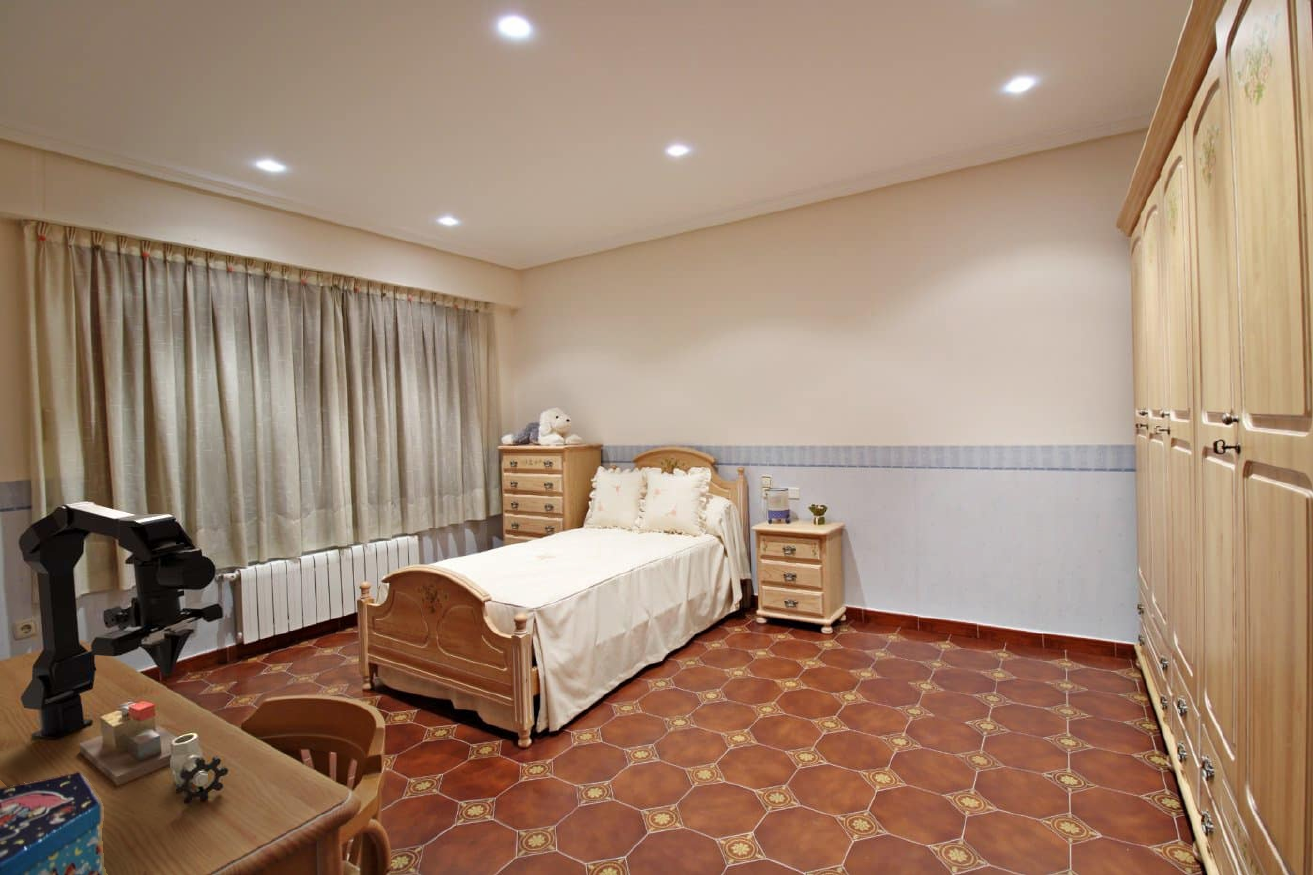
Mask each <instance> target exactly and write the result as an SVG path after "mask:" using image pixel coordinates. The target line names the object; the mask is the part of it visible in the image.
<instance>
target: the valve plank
mask: <svg viewBox="0 0 1313 875" xmlns="http://www.w3.org/2000/svg"><path fill="white" fill-rule="evenodd" d="M155 727H156V733H157V734H159V735H160V741H161V751H162V753H159V754H157V755H154V756H152V757H150V758H147V759H145V760H142V761H138V760H137V759H136V758H134V757H133V756H132V755H131V754H129V753H128V752H127V751H126V752H124V753H121V754H118V755H116V754H114V753H113V752H112V751H111V750H109V749H108V748H107V747H106V746H104V745H103V739H102V734H101V735H99V736H96V737H93V738H91V739H88V740H85V741H82V742H79V743H78V748H79V753H80V754H81V755H83V757H85V758H86V759H87V760H88V761H89V762H90V763H91V764H92V765H94V766H95V767H96V768H97V769H98V770H99V771H100V772H102V773H103V774H104V775H105V776H106V777H107V778H108V779H109V780H111V781H112V782H113V783H114V784H115V785H116V786H118V787H119V786H121V785H123V784H125V783H127V782H128V783H129V782H130V781H133V780H135V779H138V778H140V777H143V776H144V775H147V774H149V773H152V772H154V771H156V770H159V769H161V768H163V767H167V766H168V765H170V758H171V756H172V752H171V745H170V742H171V741H173V740H174V739H176V738H178V737H179V736H178V737H177V735H174V734H173V733H171V732H170V731H169V730H168V729H165V728H164V727H162V726H161V725H159V724H158V723H157V722H155Z"/></svg>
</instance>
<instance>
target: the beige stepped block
mask: <svg viewBox="0 0 1313 875" xmlns="http://www.w3.org/2000/svg"><path fill="white" fill-rule="evenodd" d="M155 719H156V718H155V716H153V717H151V718H148V719H146V720H143V721H141V722H140V721H137V720H134V719H131V718H130V717H129V713H127V712H124V711H119V709H118V710H116V711H113V712H110V713H107V714H104V715H102V716H100V717H99V720H100V729H101V735H102V739H103V745H104V746H106V747H107V748H108V749H109V750H111V751H112V752H113V753H114V754H116V755H118V754H121V753H124V752H126V751H127V752H128V753H129V754H131V755H132V756H133V757H134V758H136V759H137V760H138V761H142V760H145V759H147V758H150V757H152V756H154V755H157V754H159V753H162V751H161V741H160V735H159V734H157V733H156V727H155V723H156V720H155Z"/></svg>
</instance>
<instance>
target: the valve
mask: <svg viewBox="0 0 1313 875" xmlns="http://www.w3.org/2000/svg"><path fill="white" fill-rule="evenodd" d="M199 740H200V739H199V736H198V734H197V733H187V734H182V735H180V736H178V738H176V739H174V740H173V741H171V742H170V745H171V752H172V756H171V758H170V764H169V766H170V769H171V771H172V773H173V781H174V783H175V786H174V788H173V792H174V793H175V794H176V795H182V794H183V793H186V795H185V796H182V798H181V801H182V802H183V804H184V805H188V804H189V805H190V803H192V801H193V799H194V798H197V799H198V801H199V802H200V803H205V802H207V801H208V800H209V794H210V793H209V792H211V791H213V790H214V791H216V792H220V791H221V790H222V789H223V788H224V783H223V782H222V781H221V780H220V778H221V777H224V776H227V774H228V772H229V769H228V768H227V766H223V765H222V766H221V768H218V766H219V765H220V764H221V762H222V760H221V758H220V757H219V756H213V757H212V758H211V762H210V763H206V760H205V759H204V758H203V750H202V749H201V747H200V742H199ZM209 771H213V773H214V778H213V780H212V782H211V783H210V784H209V785H208V786H207V787H206V788H204V786H205V785H206V784H207V783H208V782H209V773H208V772H209ZM190 783H193V785H194V786H195V787H197V788H198V791H195V790H194V791H193V790H192V789H190V787H189V786H190Z"/></svg>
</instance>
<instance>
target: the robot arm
mask: <svg viewBox="0 0 1313 875" xmlns="http://www.w3.org/2000/svg"><path fill="white" fill-rule="evenodd" d="M92 534H97V535H100V536H104V537H107V538H112V539H114V540H116V541H117V546H118V547H120V548H122V549H123V550H126V551H128V552H130V553H131V555H129V557H127V558H126V559H125V561H124V563H125V564H126V565H133V571H134V580H135V589H136V595H135V596H131V599H130V603H131V604H130V606H128V607H126V608H123V607H121V606H120V605H116V606H112V607H110V608H107V609H105V610H103V611H102V614H103V623H104V625H105V626H104V627H106V628H107V629H112V628H115V627H117V628H118V629H116V630H113V631H111V632H108V633H104V634H101V635H97V636H95V637H94V639H93V640H92V642H91V644H90V648H91V649H90V650H88V649H86V647H84V646H83V645H82V644H81V642H80V635H79V634H80V633H79V621H78V610H77V606H78V605H77V596H76V594H77V593H76V583H75V581H76V580H75V568H76V565H77V564H78V563H79V561H80V560H81V558H82V557H83V555H84V553H85V541H86V540H87V539H88V537H90V535H92ZM18 546H19V549H20V551H21V554H22V558H23V561H24V563H25V564H27V565H28V566H29V567H30V568H31V570H33V571H34V572H35V573H36V576H37V588H38V589H37V590H38V599H39V612H40V624H41V636H42V638H41V639H42V651H41V653H40V654H39V656H38V658H37V659H36V660H35V662H33V665H32V668H31V669H32V671H31V681H30V682H29V684H28V685H27V686H26V689H25V690H24V691H23V692H22V694H21V695H20V701H21V703H22V706H23V708H24V709H30V710H36V711H38V716H39V717H38V718H39V726H40V730H38V731H36V732H33V733H32V734H31V735H30V737H31V738H34V739H43V740H44V739H46V740H57V739H60V738H63V737H64V736H66V735H70V734H72V733H73V732H75V731H78V730H80V729H82V728H84V727H86V726H88V725H91V724H93V723H94V720H93V719H89V718H84V717H85V716H84V710H83V709H84V708H83V702H82V696H81V694H83V693H85V692H88V691H92V690H93V689H94V683H95V676H96V671H97V667H96V663H95V657H96V656H105V657H118V656H119V657H120V656H122V655H125V654H128V653H130V652H134V651H136V650H138V649H139V648H141V649H142V650H144V651H145V652H146V653H147V654H148V655H149V657H150V658H151V660H152V661H153V663H154V664H155V665H156V667H157V669H158V671H159V672H160V673H161V675H162V676H166V677H167V676H169V675H172V673H173V671H174V669H175V667H176V664H177V662H178V659H179V657H180V654H181V653H182V650H183V648H184V647H185V644H186V643H187V641H188V639H189V637H190V635H192V634H194V633H195V629H193V628H190V629H189V625H188V624H190V623H193V622H196V621H198V620H200V619H203V621H205V622H207V623H212V622H214V621H218V620H219V619H223V618H224V608H223V607H222V605H221V604H220V603H218V602H204V601H203V602H201V601H200V602H197V603H194V604H191V605H188V606H186V607H183V608H181V600H180V598H181V597H184V596H185V590H186V591H200V590H204V589H205V588H207V587H208V586H210V585H211V583H212V582H213V580H214V578H215V576H216V572H217V571H216V570H217V569H216V568H217V567H216V564H214V562H213V561H212V559H210V558H209V557H208V556H205V555H203V550H202V549H201V548H196V546H195V545H194V543H193V540H192V539H191V537H190V536H189V535H188V534H187V533H186V532H185V530H184V528H183V527H182V525H181V523H179V522H178V520H177V518H176V517H175V516H173V515H171V514H168V513H150V514H133V513H129V512H125V511H121V510H119V509H113V508H109V507H107V506H102V505H98V504H96V503H95V502H92V501H86V500H85V501H79V502H73V503H65V504H62V505H60V506H58V507H56V508H55V509H54V510H53V511H52V512H51V513H50V514H49V515H46V516H45V517H43V518H41V519H39V520H37V521H36V522H34V523H32V524H31V525H30V526H28V528H27V529H26V530H25V531H24V532H23V533H21V535H20V537H19V539H18ZM129 627H130V628H134V630H129V629H128V630H126V629H127V628H129ZM135 628H138V629H135Z"/></svg>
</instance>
